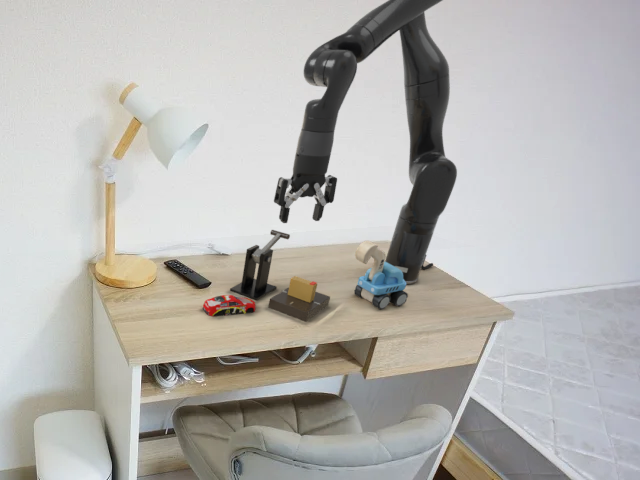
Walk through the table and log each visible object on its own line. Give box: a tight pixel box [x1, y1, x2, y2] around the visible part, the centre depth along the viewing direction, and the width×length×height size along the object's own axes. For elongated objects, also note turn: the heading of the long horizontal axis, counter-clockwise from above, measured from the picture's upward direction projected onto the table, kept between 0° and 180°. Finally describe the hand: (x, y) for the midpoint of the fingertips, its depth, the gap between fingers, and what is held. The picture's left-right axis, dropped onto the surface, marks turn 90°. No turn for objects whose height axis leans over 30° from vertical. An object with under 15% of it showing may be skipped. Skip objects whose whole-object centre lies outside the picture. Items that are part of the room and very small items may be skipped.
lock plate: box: [267, 286, 331, 322], centre depth 127 cm, size 12×10×3 cm
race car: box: [202, 294, 257, 317], centre depth 124 cm, size 13×5×4 cm, turn 102°
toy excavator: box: [353, 240, 409, 310], centre depth 126 cm, size 9×17×17 cm, turn 111°
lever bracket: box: [229, 244, 277, 302], centre depth 132 cm, size 10×8×12 cm
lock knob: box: [288, 275, 318, 303], centre depth 125 cm, size 6×2×5 cm, turn 46°
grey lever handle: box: [252, 229, 291, 265], centre depth 132 cm, size 12×5×2 cm, turn 136°
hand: (299, 221), depth 123 cm, fingers open, 8 cm apart
